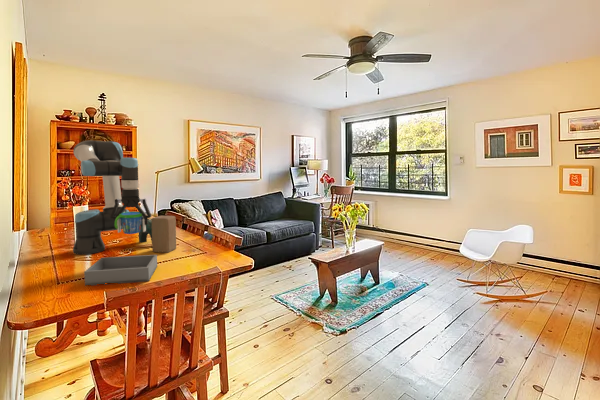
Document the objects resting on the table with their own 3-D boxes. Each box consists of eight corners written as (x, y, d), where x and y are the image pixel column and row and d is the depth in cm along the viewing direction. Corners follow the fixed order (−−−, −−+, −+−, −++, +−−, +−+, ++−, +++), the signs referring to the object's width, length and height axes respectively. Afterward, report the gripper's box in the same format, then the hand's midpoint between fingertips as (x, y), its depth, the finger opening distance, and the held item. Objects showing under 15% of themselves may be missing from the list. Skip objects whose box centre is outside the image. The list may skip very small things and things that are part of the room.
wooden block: (177, 248, 185) (176, 215, 183) (168, 253, 175) (167, 218, 173) (161, 247, 186) (160, 215, 184) (151, 252, 176) (150, 217, 174)
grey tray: (85, 285, 127) (84, 271, 126) (102, 269, 146) (101, 257, 145) (148, 281, 133) (148, 267, 132) (157, 266, 152) (156, 254, 151)
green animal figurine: (135, 242, 199) (134, 211, 196) (145, 240, 204) (144, 210, 202) (152, 247, 187) (151, 214, 185) (162, 245, 193) (161, 213, 190)
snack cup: (119, 237, 147) (118, 216, 146) (111, 233, 154) (110, 213, 153) (152, 232, 159) (151, 212, 158) (143, 228, 166) (142, 210, 165)
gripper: (101, 189, 147) (103, 234, 150) (154, 189, 154) (155, 232, 156) (106, 187, 155) (108, 230, 157) (157, 188, 161) (158, 229, 163)
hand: (132, 231), depth 157 cm, fingers closed on snack cup, 11 cm apart
